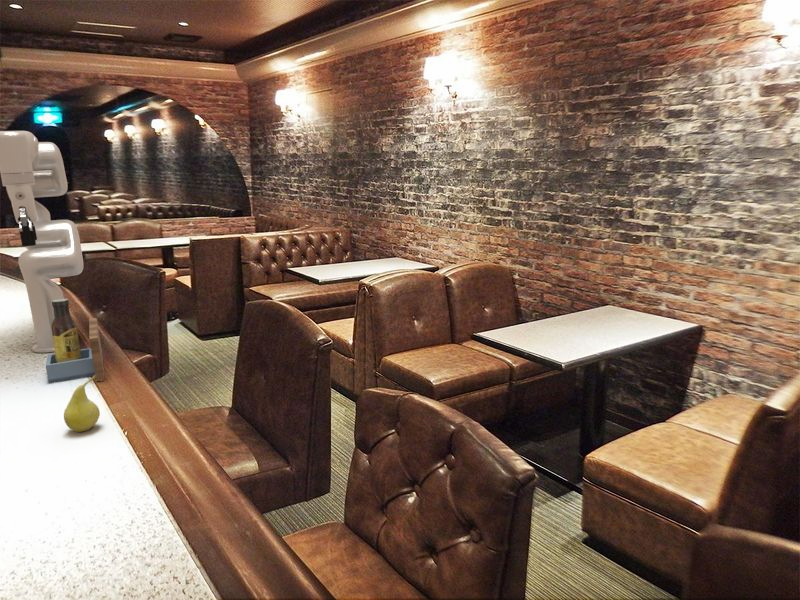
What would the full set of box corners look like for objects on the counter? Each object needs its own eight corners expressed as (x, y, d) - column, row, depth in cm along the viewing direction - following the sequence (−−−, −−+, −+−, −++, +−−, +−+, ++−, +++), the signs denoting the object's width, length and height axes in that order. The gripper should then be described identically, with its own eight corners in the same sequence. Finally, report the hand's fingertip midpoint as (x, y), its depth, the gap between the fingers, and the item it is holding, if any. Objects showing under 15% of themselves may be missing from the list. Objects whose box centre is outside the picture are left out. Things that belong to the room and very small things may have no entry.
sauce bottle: (72, 374, 172) (60, 303, 167) (52, 373, 173) (39, 303, 169) (88, 366, 178) (77, 297, 174) (69, 365, 179) (57, 297, 175)
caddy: (50, 371, 178) (47, 354, 177) (95, 364, 183) (93, 347, 182) (48, 383, 168) (45, 365, 167) (96, 375, 173) (93, 358, 172)
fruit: (67, 427, 140) (58, 375, 137) (104, 420, 143) (96, 369, 140) (65, 438, 134) (55, 385, 131) (104, 431, 137) (95, 379, 134)
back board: (95, 357, 189) (89, 318, 186) (102, 356, 190) (96, 317, 187) (96, 382, 168) (89, 338, 165) (104, 380, 168) (97, 337, 166)
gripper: (33, 180, 163) (45, 246, 167) (35, 176, 177) (46, 237, 182) (-1, 182, 159) (12, 249, 164) (4, 178, 174) (16, 239, 179)
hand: (30, 243), depth 173 cm, fingers open, 9 cm apart
